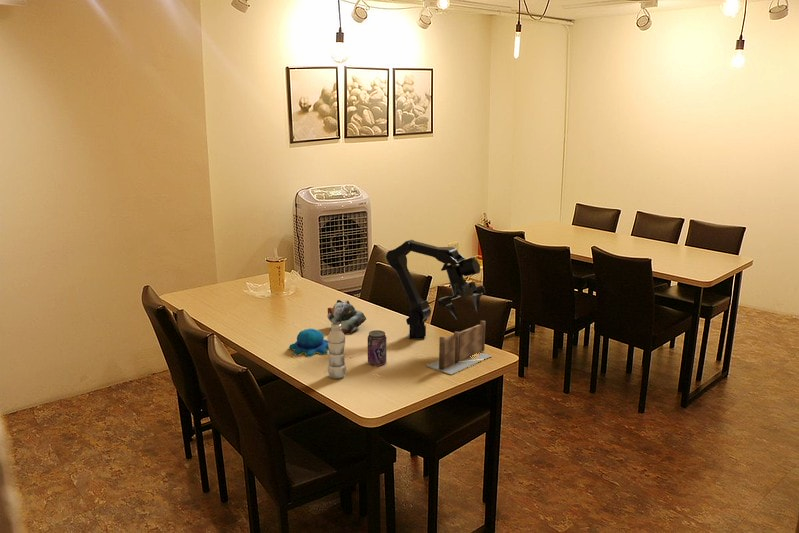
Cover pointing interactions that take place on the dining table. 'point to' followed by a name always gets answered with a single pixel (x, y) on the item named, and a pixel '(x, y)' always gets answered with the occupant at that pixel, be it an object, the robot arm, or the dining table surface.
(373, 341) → the beverage can
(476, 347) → the fence panel
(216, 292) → the dining table surface
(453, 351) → the fence fixed
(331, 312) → the grey stuffed animal
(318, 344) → the plush toy
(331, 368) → the plastic bottle
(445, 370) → the card
